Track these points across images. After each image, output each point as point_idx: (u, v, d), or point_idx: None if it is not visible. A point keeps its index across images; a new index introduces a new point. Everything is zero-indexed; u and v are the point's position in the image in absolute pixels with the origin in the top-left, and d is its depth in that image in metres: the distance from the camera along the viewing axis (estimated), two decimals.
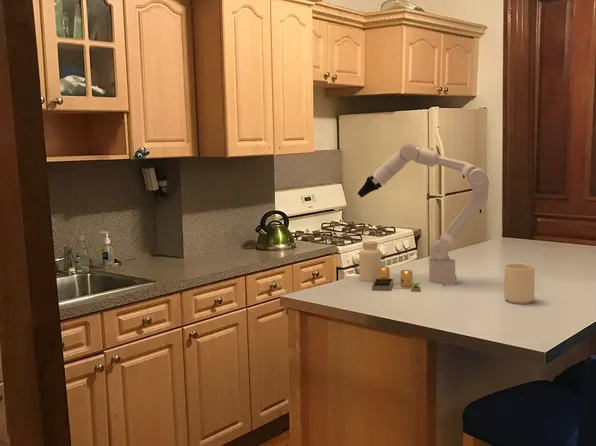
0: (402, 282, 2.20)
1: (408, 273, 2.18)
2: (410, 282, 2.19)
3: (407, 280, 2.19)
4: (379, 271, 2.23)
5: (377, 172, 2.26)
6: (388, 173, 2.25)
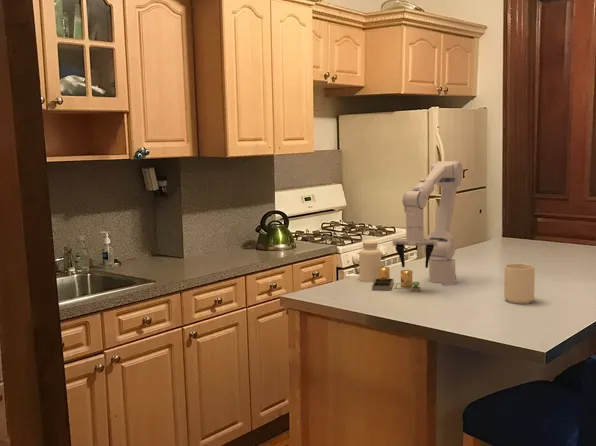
0: (402, 282, 2.20)
1: (408, 273, 2.18)
2: (410, 282, 2.19)
3: (407, 280, 2.19)
4: (379, 271, 2.23)
5: (420, 238, 2.10)
6: None
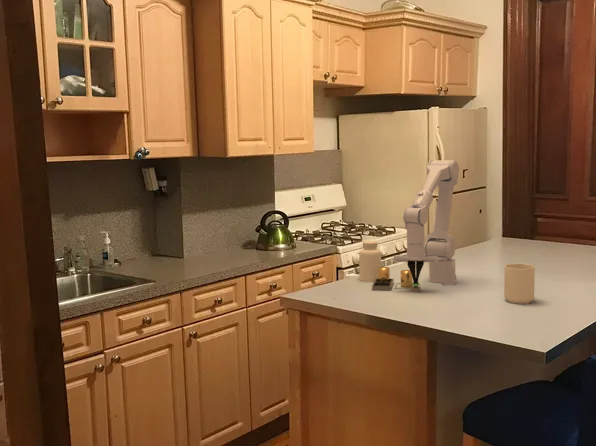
0: (402, 282, 2.20)
1: (408, 273, 2.18)
2: (410, 282, 2.19)
3: (407, 280, 2.19)
4: (379, 271, 2.23)
5: (421, 254, 2.10)
6: None
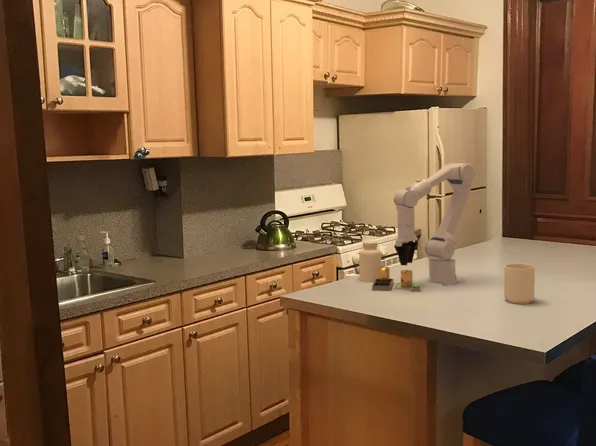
0: (402, 282, 2.20)
1: (408, 273, 2.18)
2: (410, 282, 2.19)
3: (407, 280, 2.19)
4: (379, 271, 2.23)
5: None
6: None
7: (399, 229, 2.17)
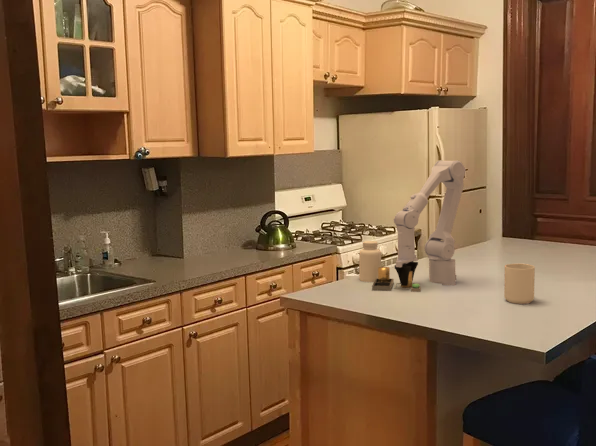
0: None
1: None
2: (410, 282, 2.19)
3: None
4: (379, 271, 2.23)
5: None
6: None
7: (399, 250, 2.18)
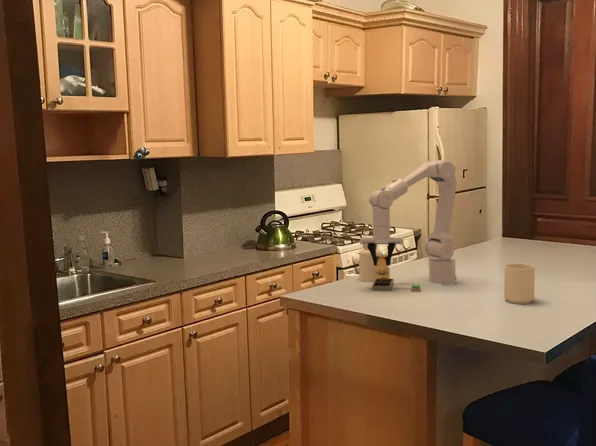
0: None
1: (377, 258, 2.16)
2: (379, 268, 2.16)
3: (377, 265, 2.17)
4: None
5: (387, 237, 2.14)
6: None
7: None
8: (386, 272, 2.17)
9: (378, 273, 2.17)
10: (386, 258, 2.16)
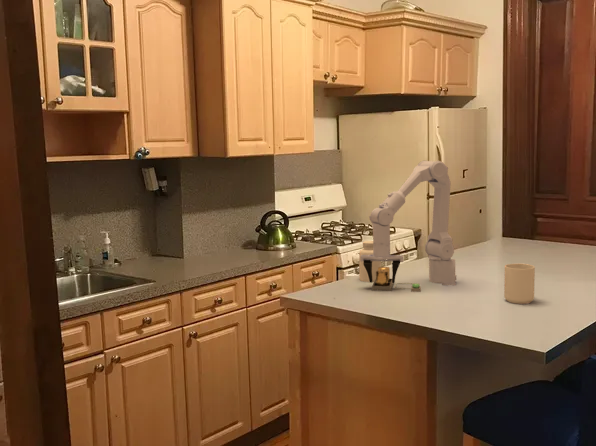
0: None
1: (377, 273, 2.17)
2: (379, 283, 2.17)
3: (377, 280, 2.17)
4: None
5: (387, 254, 2.15)
6: None
7: None
8: None
9: None
10: (386, 273, 2.17)
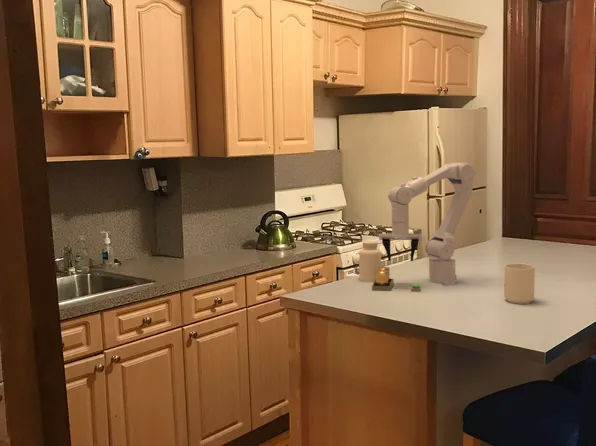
0: None
1: (377, 273, 2.17)
2: (379, 283, 2.17)
3: (377, 280, 2.17)
4: None
5: (406, 232, 2.18)
6: None
7: None
8: None
9: None
10: (386, 273, 2.17)
